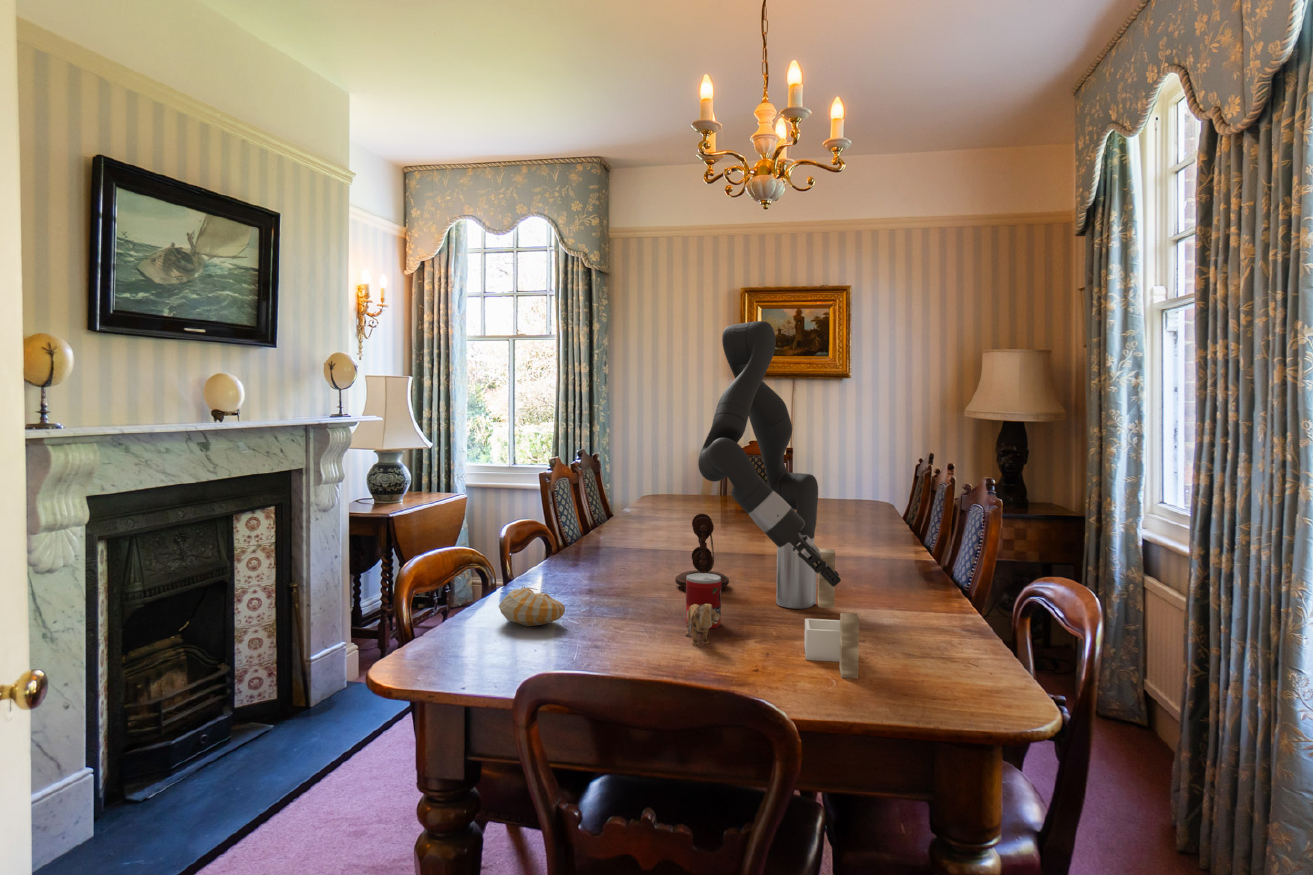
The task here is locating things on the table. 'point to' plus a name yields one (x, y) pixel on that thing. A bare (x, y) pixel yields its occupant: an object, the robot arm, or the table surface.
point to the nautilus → (530, 607)
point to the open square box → (822, 640)
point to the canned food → (704, 592)
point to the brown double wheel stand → (702, 551)
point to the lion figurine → (700, 621)
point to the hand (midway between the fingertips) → (836, 580)
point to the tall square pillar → (824, 587)
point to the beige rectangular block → (849, 645)
